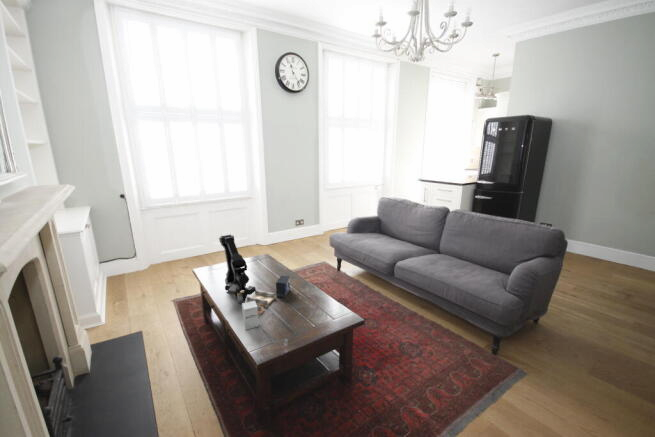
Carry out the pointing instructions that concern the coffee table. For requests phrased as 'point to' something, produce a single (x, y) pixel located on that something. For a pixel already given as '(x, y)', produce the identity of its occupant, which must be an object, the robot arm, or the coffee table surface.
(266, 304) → the cradle
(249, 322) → the supplement box
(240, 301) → the cell
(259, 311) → the dish
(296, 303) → the coffee table surface
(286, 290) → the small box
